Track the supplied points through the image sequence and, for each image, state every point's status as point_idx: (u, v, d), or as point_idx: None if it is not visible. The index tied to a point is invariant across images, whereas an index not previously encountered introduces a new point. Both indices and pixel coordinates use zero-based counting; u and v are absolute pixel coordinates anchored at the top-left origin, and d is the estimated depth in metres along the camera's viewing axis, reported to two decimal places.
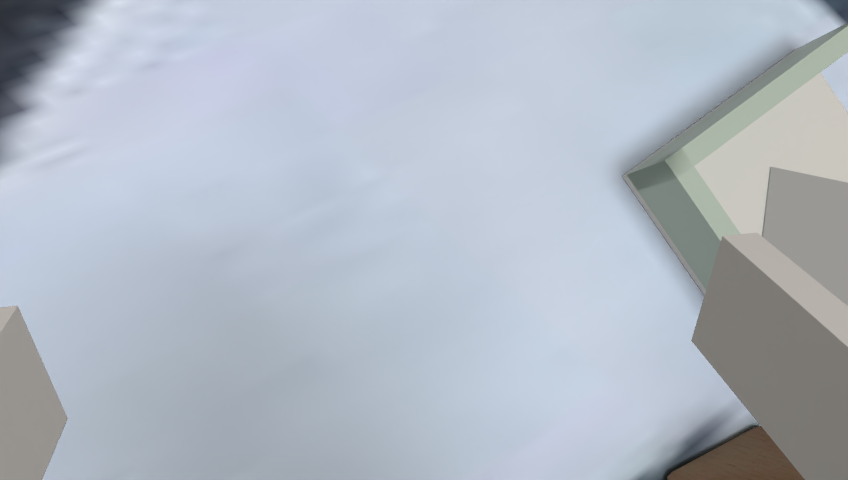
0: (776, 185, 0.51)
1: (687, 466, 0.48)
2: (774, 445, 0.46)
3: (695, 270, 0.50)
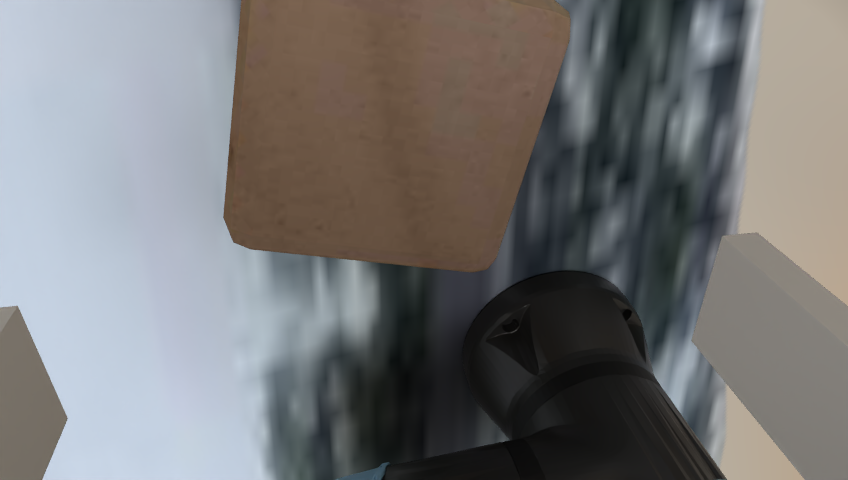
0: None
1: None
2: None
3: None
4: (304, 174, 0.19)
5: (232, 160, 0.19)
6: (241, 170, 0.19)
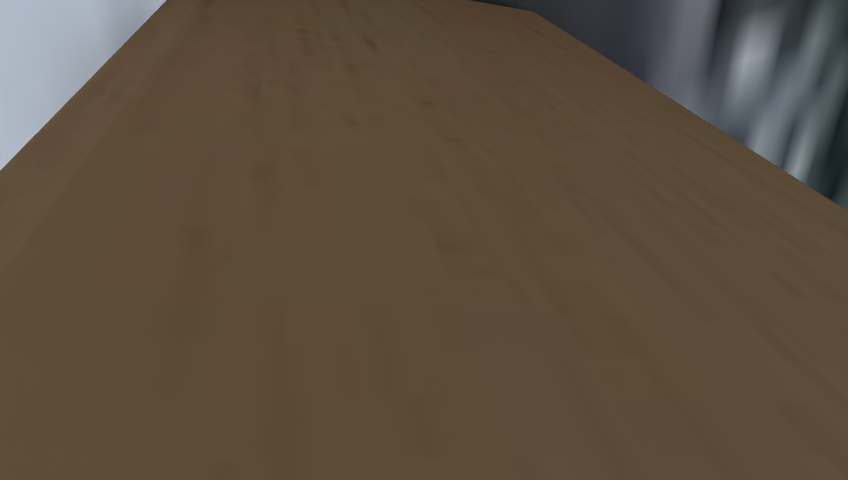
0: None
1: None
2: None
3: None
4: None
5: None
6: None
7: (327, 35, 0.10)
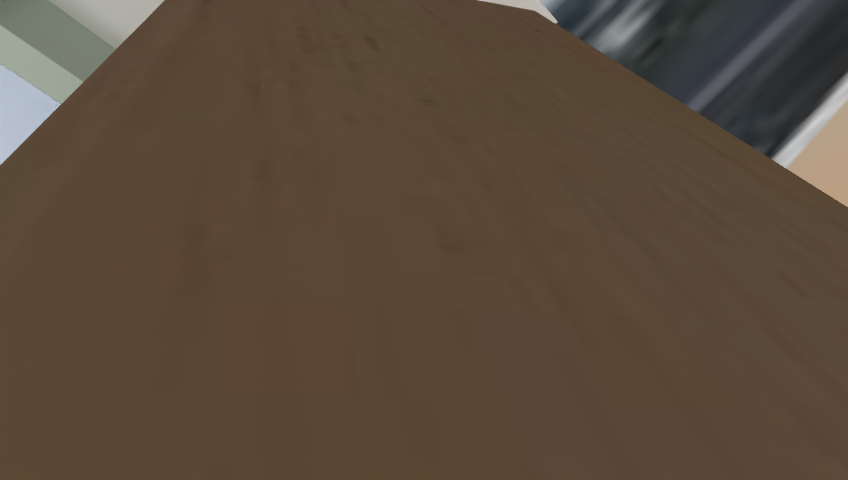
0: None
1: None
2: None
3: None
4: None
5: None
6: None
7: (327, 33, 0.10)
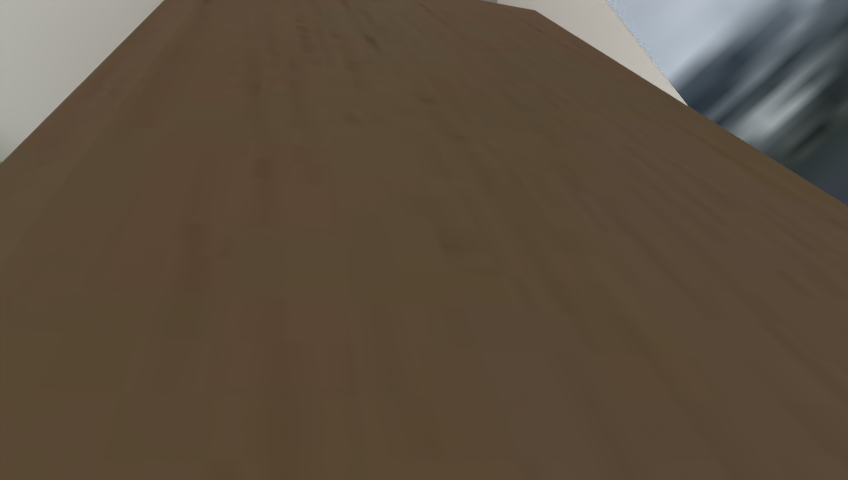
0: None
1: None
2: None
3: None
4: None
5: None
6: None
7: (327, 32, 0.10)
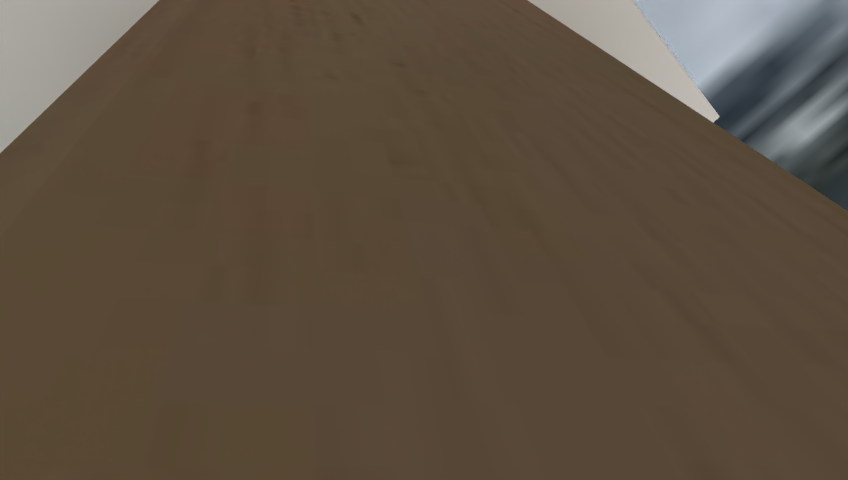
0: None
1: None
2: None
3: None
4: None
5: None
6: None
7: (318, 11, 0.11)
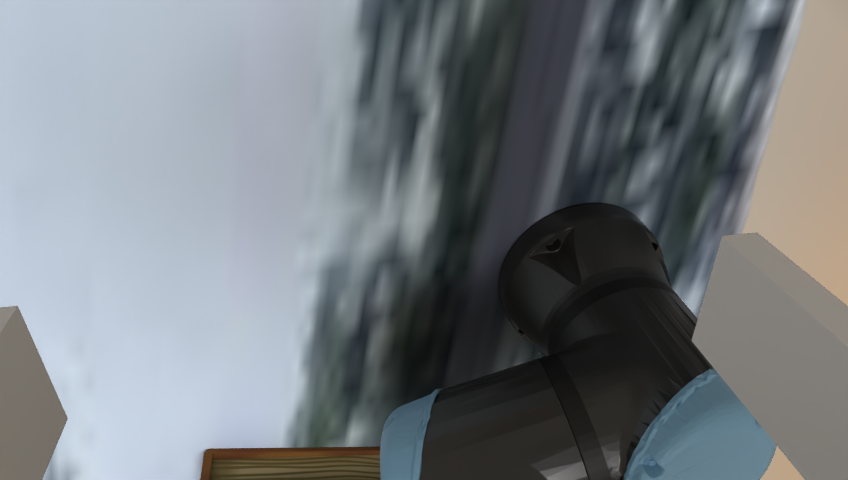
0: None
1: None
2: None
3: None
4: None
5: None
6: None
7: None
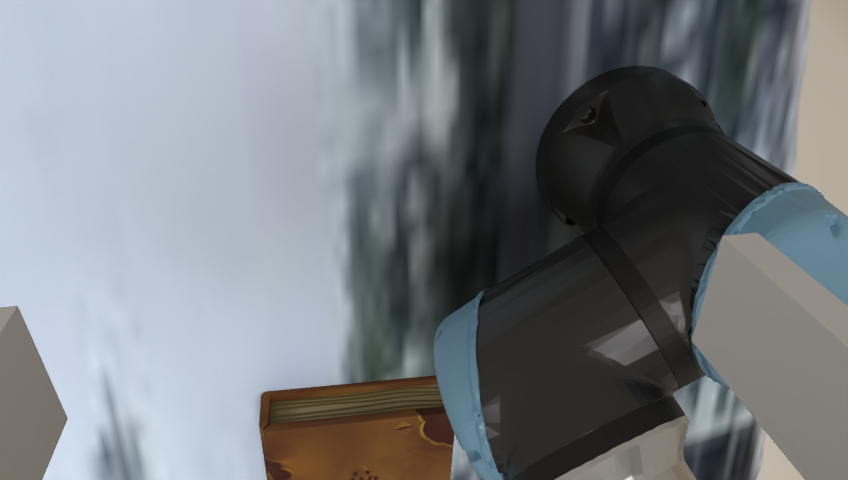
0: None
1: None
2: None
3: None
4: None
5: None
6: None
7: None
